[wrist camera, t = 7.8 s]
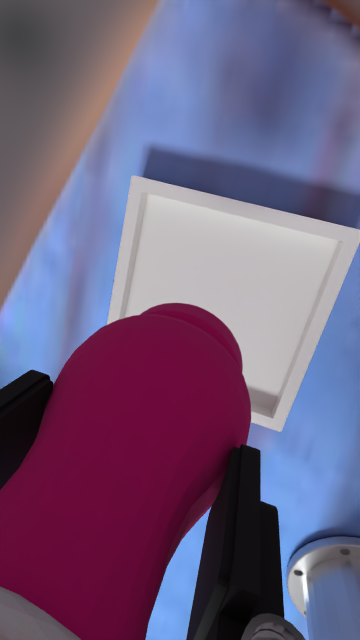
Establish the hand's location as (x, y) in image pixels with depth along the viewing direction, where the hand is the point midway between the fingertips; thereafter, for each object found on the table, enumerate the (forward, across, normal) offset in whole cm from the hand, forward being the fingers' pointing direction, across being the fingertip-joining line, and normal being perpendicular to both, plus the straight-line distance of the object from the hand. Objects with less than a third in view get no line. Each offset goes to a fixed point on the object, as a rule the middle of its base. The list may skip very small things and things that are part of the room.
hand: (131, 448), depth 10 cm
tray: (+19, 0, 0) cm, 19 cm away
